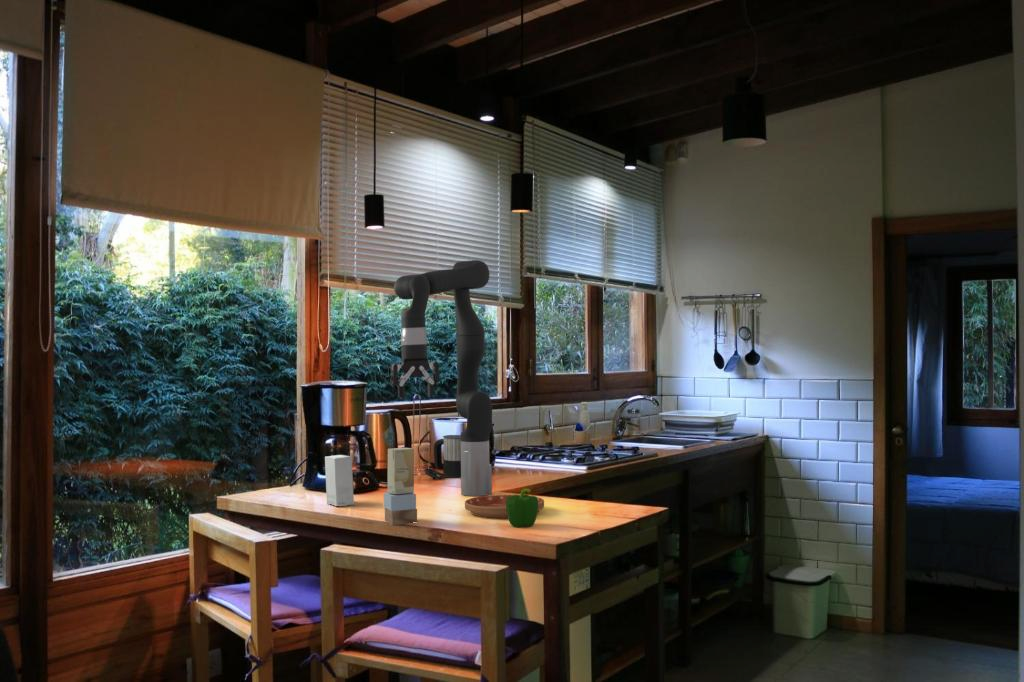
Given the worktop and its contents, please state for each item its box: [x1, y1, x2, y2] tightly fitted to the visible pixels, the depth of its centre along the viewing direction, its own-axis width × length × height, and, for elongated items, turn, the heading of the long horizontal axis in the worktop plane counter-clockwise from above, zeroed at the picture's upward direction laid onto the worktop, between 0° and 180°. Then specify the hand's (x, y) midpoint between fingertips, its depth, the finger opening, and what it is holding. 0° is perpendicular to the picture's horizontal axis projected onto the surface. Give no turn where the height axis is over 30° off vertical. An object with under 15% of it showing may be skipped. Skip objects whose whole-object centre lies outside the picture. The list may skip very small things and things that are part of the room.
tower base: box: [384, 507, 418, 526], centre depth 251 cm, size 7×7×4 cm
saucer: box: [464, 494, 545, 519], centre depth 263 cm, size 23×23×4 cm
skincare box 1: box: [324, 454, 355, 507], centre depth 278 cm, size 8×6×15 cm
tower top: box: [383, 492, 417, 511], centre depth 251 cm, size 7×7×4 cm
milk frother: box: [423, 434, 461, 480], centre depth 332 cm, size 14×16×15 cm
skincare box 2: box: [387, 447, 415, 494], centre depth 251 cm, size 6×4×12 cm
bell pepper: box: [506, 488, 539, 528], centre depth 244 cm, size 8×8×10 cm
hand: (416, 398), depth 269 cm, fingers open, 8 cm apart
